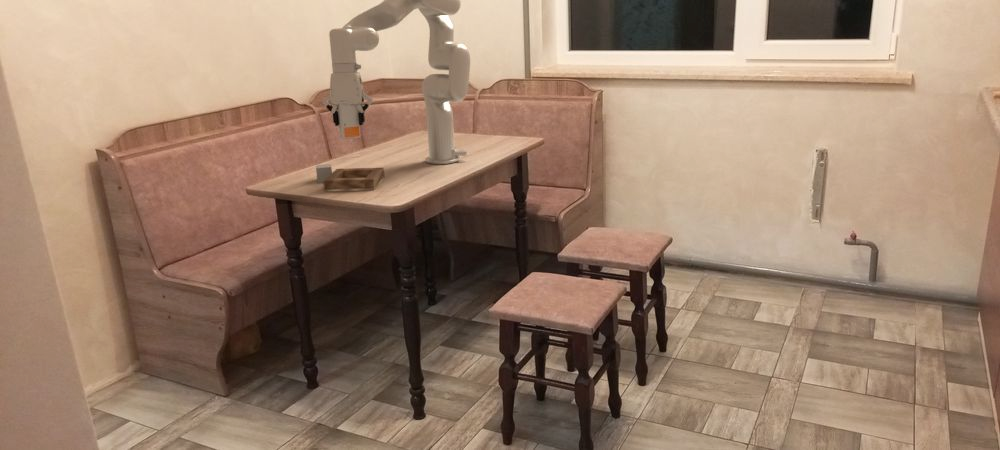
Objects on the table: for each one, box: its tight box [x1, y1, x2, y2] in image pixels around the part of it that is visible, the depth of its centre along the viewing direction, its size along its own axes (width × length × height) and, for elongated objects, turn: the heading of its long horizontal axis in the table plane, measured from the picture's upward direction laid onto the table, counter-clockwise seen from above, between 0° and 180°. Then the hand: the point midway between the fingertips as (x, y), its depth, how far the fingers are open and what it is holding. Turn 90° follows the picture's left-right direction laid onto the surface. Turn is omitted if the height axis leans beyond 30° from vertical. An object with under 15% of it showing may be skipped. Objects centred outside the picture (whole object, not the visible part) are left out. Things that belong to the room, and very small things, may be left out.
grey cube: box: [315, 163, 333, 184], centre depth 257 cm, size 5×5×5 cm
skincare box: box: [337, 102, 362, 140], centre depth 244 cm, size 6×4×12 cm
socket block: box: [323, 167, 385, 192], centre depth 250 cm, size 16×17×4 cm
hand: (349, 124), depth 244 cm, fingers closed on skincare box, 7 cm apart
